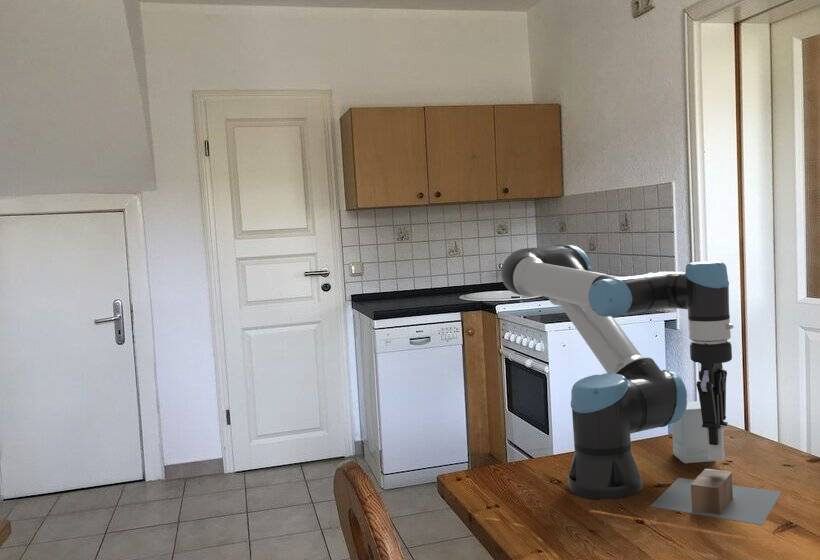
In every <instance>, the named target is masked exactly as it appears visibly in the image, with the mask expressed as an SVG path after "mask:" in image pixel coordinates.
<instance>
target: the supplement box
mask: <svg viewBox="0 0 820 560" xmlns="http://www.w3.org/2000/svg"><path fill="white" fill-rule="evenodd" d="M702 424H703V422H702V414H701V406H700V400H698V401H687V407H686V411H685V413H684V415H683V416H682V418H681V419H680V420H678V421H677V422H675V423H672V424H671V433H672V434H671V435H672V436H671V437H672V453H673V455H674V457H676V458H677V459H679V460H680V461H681V462H682V463H684V464H690V463H691V464H693V463H704V462H716V460H708V444H707V428H704V427H702Z"/></svg>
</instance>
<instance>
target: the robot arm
mask: <svg viewBox="0 0 820 560" xmlns="http://www.w3.org/2000/svg"><path fill="white" fill-rule="evenodd" d="M590 264H591V261H590V259H589V256H587V254H586V252H585V251H584V250H582V248H580V247H578V246H576V245H573V244H556V245H552V246H551V245H550V246H549V245H548V246H538V247H526V248H521V249H518V250H514V252H512V253H510V254H509V255H508V256H507V257H506V258H505V260H504V261H503V262H502V265H501V271H500V273H501V275H500V276H501V281H502V282H503V285H504V286H505V288H507V290H508V291H510V292H511V293H513V294H516V295H519V296H524V297H529V298H530V297H534V296H540V297H545V298H547V299H548V300H549V302H550V303H551V304H552V305H554V306H557V307H558V306H560V307H561V308H562V310H563V311H564V312H565V314H566V315H567V318H569V320H570V321H571V323H572V324H573V326H574V327H575V329H576V330H577V332H578V333H579V335H581V337H582V339H583V340H584V341H585V343H586V345H587V346H588V348H589V349H590V350H591V352H592V353H593V354H594V356H595V358H596V359H597V361H598V362H599V363H600V365H601V366H602V368H603V369H604V371H605V372H606V373H602V374H593V375H589V376H588V375H587V376H586V377H583V378H580V379H579V380H578V381H576V382H574V384H573V385H572V388H571V393H570V394H571V398H570V408H571V415H572V417H571V418H572V431H573V443H574V444H573V445H574V446H573V447H574V454H573V457H572V461H571V465H570V469H569V472H568V476H567V481H568V489H569V491H570V492H571V493H572V494H575V495H577V496H579V497H582V498H586V499H592V500H599V501H600V500H617V499H618V500H619V499H624V498H629V497H633V496H635V495H637V494H639V493H640V492H641V491H642V489H643V480H642V475H641V473H640V470H639V467H638V465H637V463H636V459H635V457H634V455H633V452H632V441H631V440H632V439H631V435H632V434H635V433H639V432H642V431H648V430H653V429H657V428H665V427H667V426H669V425H672V423H675V422H677V421H678V420H680V419H681V418H682V416H683V415H684V413H685V411H686V407H687V402H688V400H687V399H688V392H687V387H686V386H685V385H686V384H685V383H684V381H683V379H682V378H681V376H680V375H679V374H677V372H675V371H673V370H668V369H663V370H661V368H660V367H659V366H658V364H657V363H656V361H655V360H654V359H653V358H651V357H650V356H642V354H641V353H640V352H639V351H638V349H637V347H636V346H635V345H634V343H633V342H632V340H630V338H629V336H628V335H626V333H625V332H624V330H623V328H621V326H620V325H619V323H618V322H617V320H616V319H615V318H616V317H621V316H625V315H632V314H637V313H643V312H651V311H659V310H666V309H681V310H687V317H688V319H687V320H688V321H687V322H688V338H689V340H691V342H690V343H689V353H690V355H689V356H690V360H691V361H692V362H694V363H699V364H700V370H699V371H698V379H699V381H698V380H697V382H696V388H697V392H698V397H699V401H700V406H701V414H702V422H703V424H702V427H704V428H707V444H708V460H716V461H717V462H724V460H725V459H726V457H725V456H726V455H725V440H724V439H725V438H724V435H725V434H724V427H727V426H728V421H725V420H726V418H727V416H726V415H727V414H726V413H727V411H726V410H727V401H726V400H727V397H726V396H727V376H728V372H727V370H726V369H724V368H723V364H725V363H728V362H731V360H732V359H733V352H732V351H733V350H732V342H731V341H729V340H730V339H731V337H732V335H731V330H732V329H734V324H733V323H730V322H731V317H730V295H729V294H730V292H729V291H730V289H729V285H730V282H729V277H728V269H727V266H726V263H724V262H723V261H721V260H720V261H719V260H718V261H717V260H713V261H695V262H688V263H687V264H686V265H685V271H684V272H683V271H665V270H659V271H649V272H647V273H645V274H638V275H630V276H629V275H628V276H617V275H613V274H612V275H611V274H607V273H601V272H596V271H592V267H591V266H590ZM716 461H715V462H716Z"/></svg>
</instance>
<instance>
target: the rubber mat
mask: <svg viewBox="0 0 820 560" xmlns="http://www.w3.org/2000/svg"><path fill="white" fill-rule="evenodd" d="M694 480H695V479H692V478H691V479H690V478H683V477H677V479H676V480H675V481H674V482H673V483H672V484H671V485H670V486H669V487H668V488H666V490H664V491H663V492H662V494H661V495H659V497H658V498H657V499H656V500H655V501H654V502H653V503H652V504H650V506H649V507H651V508H655V509H656V508H657V509H663V510H668V511H673V512H681V513H686V514H687V513H688V514H693V515H699V516H703V517H704V516H705V517H711V518H716V519H723V520H729V521H734V522H742V523H746V524H753V525H759V526H763V524H764V523H765V521H766V520H767V518H768V516H769V515H770V513H771V511H773V508H774V506H775V505H776V503H777V501H778V500H779V498H780V496H781V494H782V493H783V492H782V491H778V490H770V489H763V488H757V487H749V486H741V485H735V484H733V498H732V499H731V501H730V502H729V503H728V505H727V506H726V507H725V509H724V510H723V511H722V513H721V514H720V515H718V514H712V513H706V512H700V511H694V510H692V499H691V484H692V482H693V481H694Z"/></svg>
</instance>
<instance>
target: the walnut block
mask: <svg viewBox="0 0 820 560" xmlns="http://www.w3.org/2000/svg"><path fill="white" fill-rule="evenodd" d="M693 480H694V481H693V482H692V484H691V499H692V510H694V511H700V512H706V513H712V514H718V515H720V514H721V513H722V511H723V510H724V509H725V507H726V506H727V505H728V503H729V502H730V501H731V499H732V498H733V485H734V484H733V472H732V471H728V470H720V469H719V470H718V469H712V468H704V469H703V470H702V471H701V473H699V475H697V476H696V478H695V479H693Z"/></svg>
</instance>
